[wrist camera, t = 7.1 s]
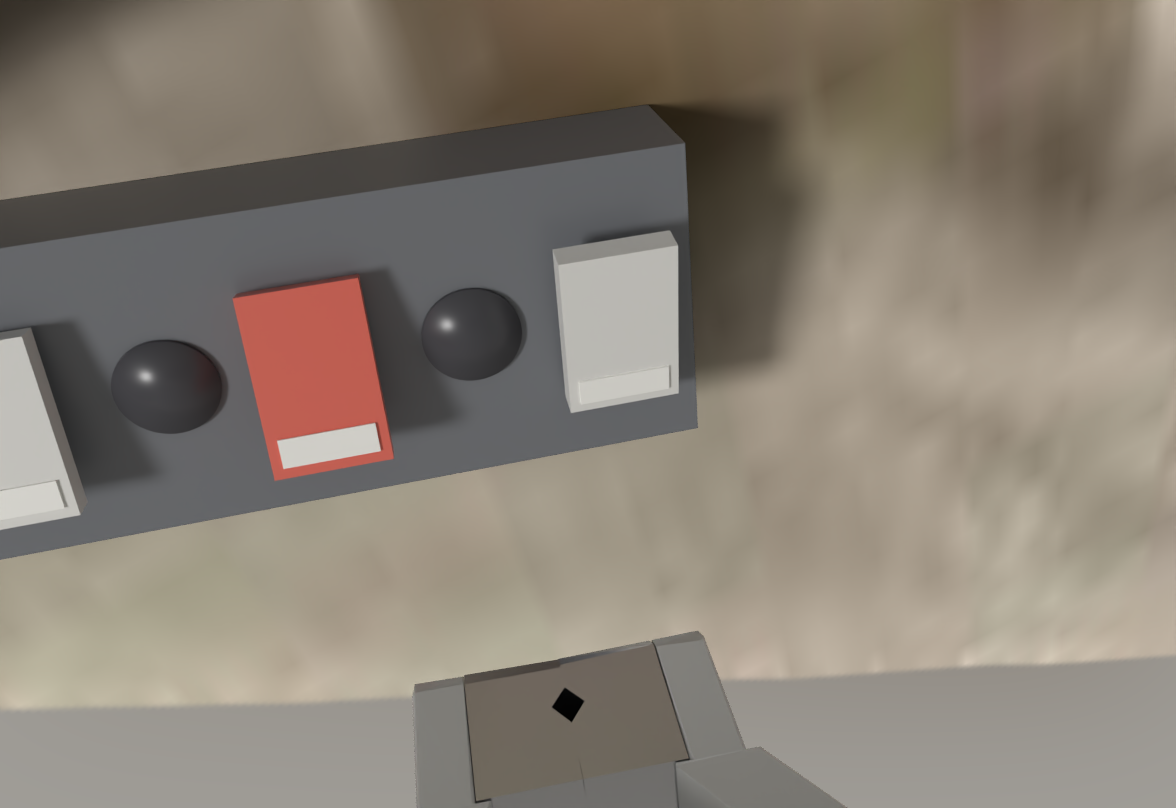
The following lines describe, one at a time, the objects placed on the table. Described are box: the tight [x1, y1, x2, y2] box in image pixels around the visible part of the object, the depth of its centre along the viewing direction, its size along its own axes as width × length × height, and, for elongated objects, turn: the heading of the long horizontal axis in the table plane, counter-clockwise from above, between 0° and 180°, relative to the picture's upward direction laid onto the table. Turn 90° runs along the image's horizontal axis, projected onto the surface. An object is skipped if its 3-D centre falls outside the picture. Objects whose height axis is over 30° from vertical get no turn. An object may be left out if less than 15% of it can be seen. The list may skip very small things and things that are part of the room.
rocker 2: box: [552, 230, 679, 413], centre depth 30 cm, size 3×5×1 cm, turn 5°
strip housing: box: [0, 105, 698, 560], centre depth 32 cm, size 25×9×4 cm, turn 95°
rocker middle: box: [232, 274, 394, 481], centre depth 29 cm, size 3×5×1 cm, turn 5°
